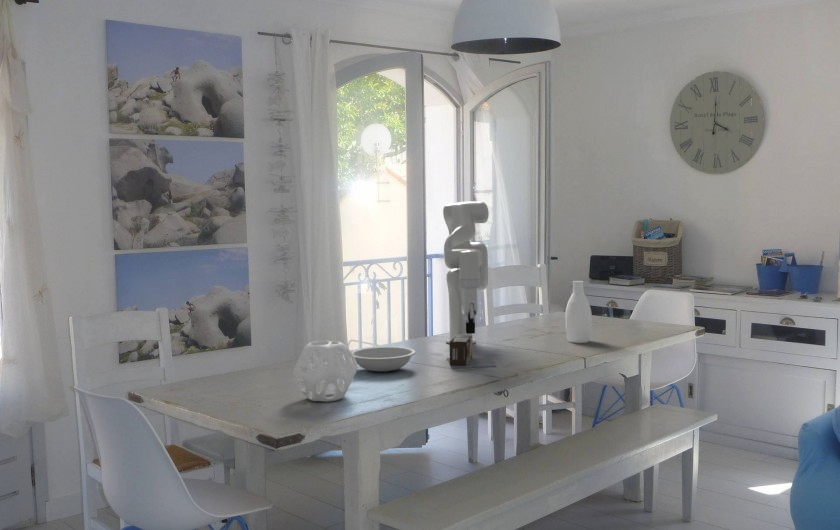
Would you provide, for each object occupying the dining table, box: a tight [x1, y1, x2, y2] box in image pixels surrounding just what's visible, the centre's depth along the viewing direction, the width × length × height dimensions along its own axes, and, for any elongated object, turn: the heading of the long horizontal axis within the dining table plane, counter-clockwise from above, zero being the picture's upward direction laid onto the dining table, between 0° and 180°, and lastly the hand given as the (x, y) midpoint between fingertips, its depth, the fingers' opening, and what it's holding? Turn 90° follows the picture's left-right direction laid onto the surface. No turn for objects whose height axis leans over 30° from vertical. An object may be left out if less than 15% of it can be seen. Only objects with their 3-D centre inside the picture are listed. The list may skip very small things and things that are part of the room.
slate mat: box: [446, 356, 497, 369], centre depth 318 cm, size 18×16×1 cm
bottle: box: [564, 280, 593, 344], centre depth 359 cm, size 11×11×25 cm
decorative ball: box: [292, 340, 358, 403], centre depth 264 cm, size 20×20×17 cm
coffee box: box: [449, 334, 474, 367], centre depth 318 cm, size 9×6×16 cm
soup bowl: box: [351, 346, 417, 372], centre depth 307 cm, size 24×24×7 cm
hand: (470, 333), depth 317 cm, fingers closed
